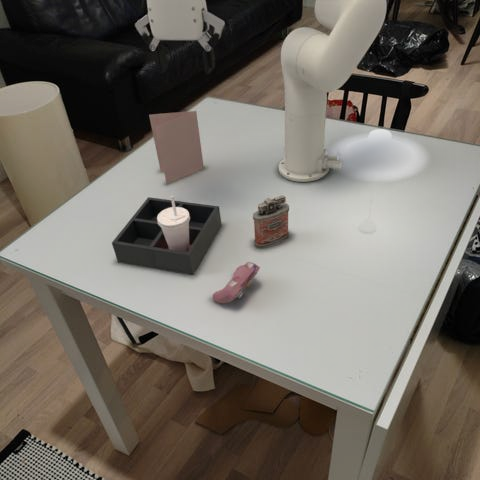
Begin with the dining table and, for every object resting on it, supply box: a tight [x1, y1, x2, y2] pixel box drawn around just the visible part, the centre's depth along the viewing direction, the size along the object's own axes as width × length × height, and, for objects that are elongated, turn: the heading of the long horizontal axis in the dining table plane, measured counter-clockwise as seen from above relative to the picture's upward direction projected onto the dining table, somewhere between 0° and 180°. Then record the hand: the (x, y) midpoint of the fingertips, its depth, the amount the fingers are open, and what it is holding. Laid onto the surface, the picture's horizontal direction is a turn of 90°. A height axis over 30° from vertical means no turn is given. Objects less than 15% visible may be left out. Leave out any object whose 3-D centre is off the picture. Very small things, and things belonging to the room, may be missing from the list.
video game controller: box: [212, 261, 261, 304], centre depth 91 cm, size 10×5×7 cm, turn 148°
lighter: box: [252, 194, 290, 249], centre depth 99 cm, size 8×3×10 cm, turn 118°
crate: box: [111, 196, 223, 276], centre depth 103 cm, size 17×17×5 cm
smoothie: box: [157, 195, 190, 252], centre depth 95 cm, size 6×6×14 cm
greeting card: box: [148, 110, 205, 185], centre depth 119 cm, size 11×7×15 cm, turn 92°
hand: (186, 70), depth 93 cm, fingers open, 9 cm apart
